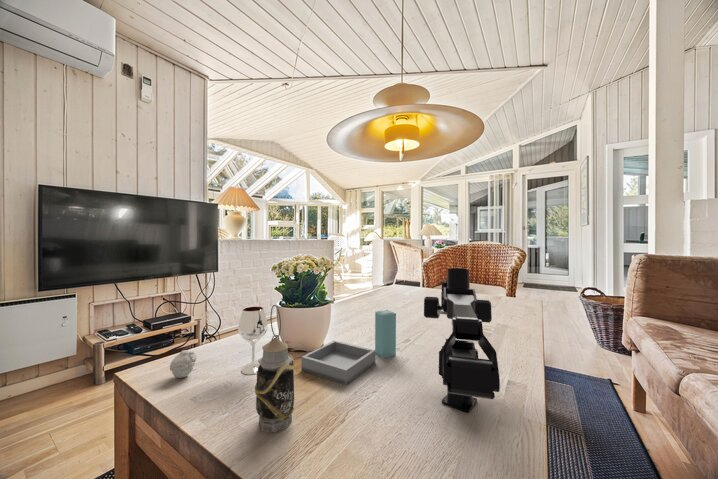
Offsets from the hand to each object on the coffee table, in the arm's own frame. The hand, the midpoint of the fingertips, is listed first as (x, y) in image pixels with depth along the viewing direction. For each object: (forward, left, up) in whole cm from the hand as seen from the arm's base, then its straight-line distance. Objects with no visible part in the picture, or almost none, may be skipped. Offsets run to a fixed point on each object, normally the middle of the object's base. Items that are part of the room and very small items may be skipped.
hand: (455, 310), depth 94 cm
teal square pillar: (-11, +20, -16) cm, 27 cm away
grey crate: (-28, +25, -16) cm, 40 cm away
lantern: (-56, +17, -16) cm, 61 cm away
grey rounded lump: (-61, +54, -16) cm, 83 cm away
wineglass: (-46, +43, -16) cm, 65 cm away
